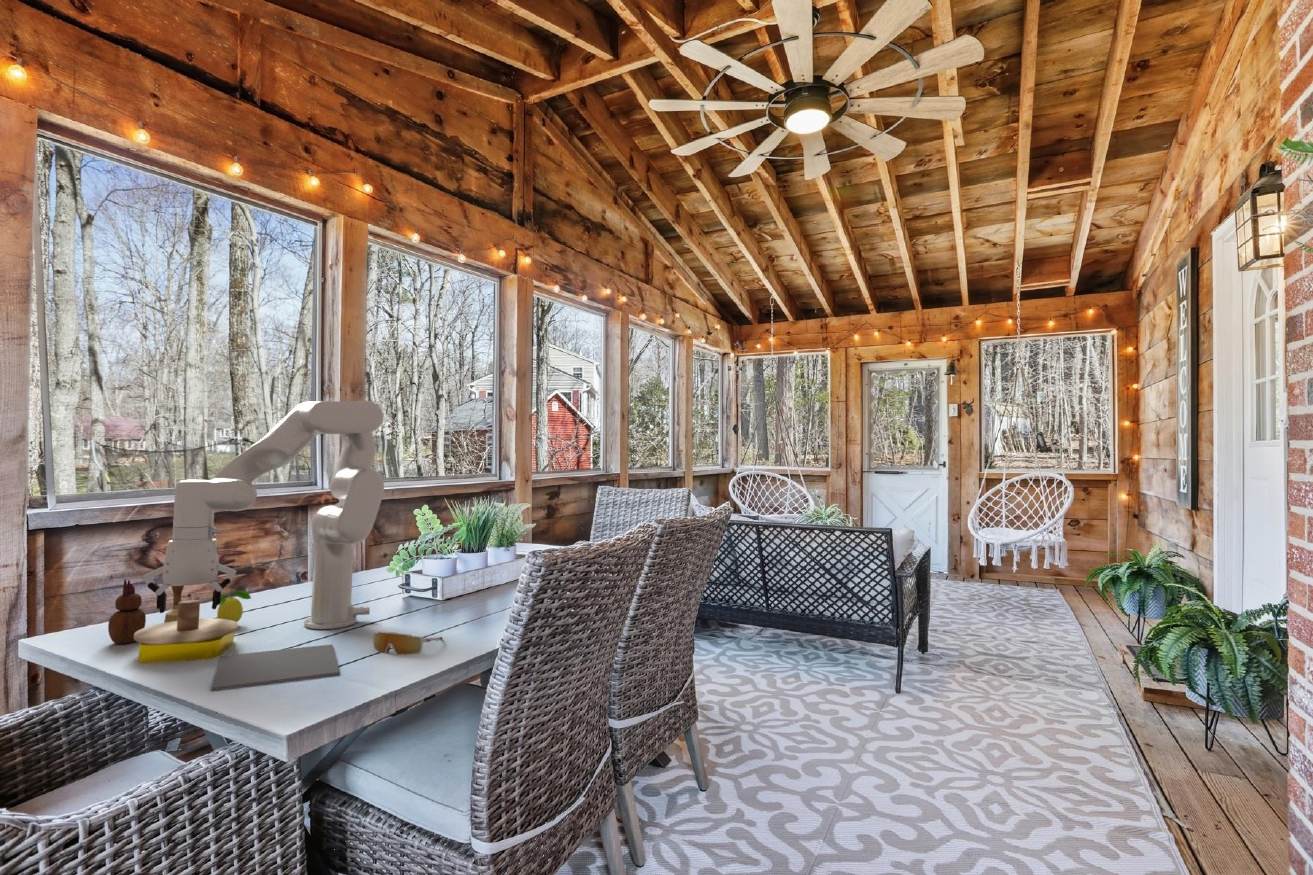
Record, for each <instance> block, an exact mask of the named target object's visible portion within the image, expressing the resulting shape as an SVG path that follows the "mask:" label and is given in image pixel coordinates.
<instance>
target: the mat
mask: <svg viewBox="0 0 1313 875" xmlns="http://www.w3.org/2000/svg"><path fill="white" fill-rule="evenodd" d="M339 668H340V667H339V665H338V660H337V657H336V652H335V649H334V645H333V644H331V643H330V644H324V645H323V644H322V645H315V646H305V647H295V648H284V649H275V650H266V651H265V650H263V651H255V652H245V653H235V654H225V655H220V656H219V661H218V664H217V668H216V671H215V675H214V677H213V681H212V684H211V686H210V688H211V690H210V692H212V691H221V690H228V689H237V688H246V687H253V686H261V685H270V684H277V683H278V684H279V683H286V682H292V681H301V680H308V679H310V680H311V679H317V678H323V677H324V678H325V677H333V676H334V677H335V676H340V674H341V673H340V669H339Z"/></svg>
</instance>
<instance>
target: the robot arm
mask: <svg viewBox="0 0 1313 875" xmlns="http://www.w3.org/2000/svg"><path fill="white" fill-rule="evenodd" d="M383 421H384V413H383V409H382V408H381V407H380V406H379V405H378V404H377V403H376V402H373V401H370V400H353V401H352V400H351V401H350V400H349V401H345V400H344V401H342V400H341V401H338V400H337V401H334V400H333V401H331V400H316V401H315V400H314V401H304V402H302V403H299V404H297V405H296V406H295V407H294V408H293V409H292V410H291V411H290V412H288V413H287V415H285V416H284V417H283V418H282V419H281V420H280V421H279V422H278V423H277V424H276V425H275V426H274V427H272V429H271V430H269V432H268V433H266V435H264V436H263V437H262V438H261V439H259V441H258V442H255V443H254V444H252V445H251V446H250V447H248V448H247V449H245V450H244V451H243V452H241V453H239V454H238V455H236V456H235V457H234V458H232V459H231V460H230V461H228V463H227V464H225V465H224V466H223V467H222V468H221V469H220V470H219V471H217V473H216V474H215V475H213V477H211V479H209V480H208V479H185V480H182V479H181V480H179V481H178V482H177V483H176V484H175V488H174V503H173V504H174V506H173V521H172V523H173V524H172V538H171V540H168V542H167V546H166V550H165V555H164V560H163V565H162V566H160V567H158V568H156V569H154V570H151V571H149V572H147V573H145V574H143V575H142V580H143V581H144V582H145V584H146V586H147V588H148V589H149V590H151V591H152V592H153V593H155V595H156V610H159V614H163V613H165V611H166V609H167V607H166V606H167V593H166V590H167V589H168V588H169V587H172V586H181V585H184V586H193V585H194V586H196V585H208V584H209V585H210V586H211V587H212V588H213V589H214V590H213V592H212V604H211V609H212V610H217V607H218V606H219V605H220V602H221V596H222V590H223V589H225V588H226V587H227V586H228V585H229V584H230V583H231V581H232V580H233V578H234V577H235V575H236V573H237V570H236V569H234V568H231V567H228V566H226V565H224V564H221V563H220V562H219V555H220V554H219V544H218V540H217V539H218V538H214V536H217V535H221V533H222V532H221V531H222V530H221V528H217V527H215V526H214V521H215V520H214V519H215V511H228V512H229V511H231V512H239V511H244V510H247V509H249V508H251V507H252V506H253V505H254V503H255V502H256V500H257V497H258V491H257V489H256V487H255V486H254V485H253V484H252V483H253V482H254V481H256V480H257V479H259V478H260V477H261V476H263V475H265V474H266V473H269V472H271V471H273V470H276V469H279V468H281V467H284V466H286V465H287V464H290V463H291V462H292V461H293V460H294V459H295V458H296V457H297V456H298V455H299V454H300V453H301V452H302V451H303V450H304V449H305V448H306V447H307V446H308V444H310V443H311V442H312V440H314V439H315V438H316V437H317V436H318V435H339V436H340V438H341V444H342V445H341V451H340V454H339V458H338V460H337V463H336V467H335V468H334V472H333V476H332V478H331V480H330V484H329V490H330V493H331V495H332V496H333V497H334V498H335V499H337V500H339V501H343V502H344V503H343V505H341V504H340V505H339V504H330V505H326V506H324V507H322V508H320V509H319V510H318V511H317V512H316V514H314V516H313V518H312V523H311V534H312V541H313V566H312V567H313V568H312V569H313V571H312V588H311V589H312V592H311V612H310V617H309V618H308V617H307V618H306V619H305V620H304V621H303V626H304V627H305V628H307V629H311V630H313V629H314V630H331V629H341V628H346V627H350V626H352V625H354V624H356V623H357V620H358V619H357V618H358V617H357V616H359V615H360V616H361V615H362V616H364V615H365V616H367V615H368V616H369V615H370V610H371V609H370V607H369V606H367V607H366V606H365V607H364V606H359V607H358V606H357V607H356V606H353V603H352V595H353V594H352V592H353V591H352V590H353V588H352V587H353V569H354V550H353V545H354V544H359V543H362V542H363V541H365V540H366V539H367V538H368V537H369V535H370V534H371V532H372V530H373V527H374V525H375V522H376V519H377V515H378V512H379V510H380V506H381V503H382V500H383V496H384V492H385V484H384V483H385V482H384V479H383V477H382V475H381V474H380V473H379V471H377V470H375V469H373V468H372V466H373V462H374V458H375V457H376V456H375V455H376V441H375V439H374V438H375V437H374V435H373V434H372V432H375V431H376V430H378V429H379V428H380V427H381V426H382V424H383ZM219 572H222V573H224V574H226V575H227V576H226V577H225V579H223V580H222V581H221V582H220V581H219V580H218V578H219V577H218V576H219ZM161 574H162V584H161V585H159V584H158V583H156V582H155V581H154V577H156V576H158V575H159V576H160V575H161ZM217 605H218V606H217Z"/></svg>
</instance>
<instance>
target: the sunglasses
mask: <svg viewBox="0 0 1313 875" xmlns="http://www.w3.org/2000/svg"><path fill="white" fill-rule="evenodd" d="M372 638H373V643H372V644H373V647H374V649H375V651H377V652H379V653H384V654H387V653H388V652H390V648H392V650H393V651H394V653H395V654H396V655H411V654H420V653H421V652H422V649H423V645H424V643H430V642H432V641H437V642H438V641H441V642H442V641H443V637H442V636H439V637H422V636H416V635H412V634H410V633H409V634H408V633H407V634H406V633H398V632H394V631H392V632H391V631H390V632H387V631H377V632H374V633H373V636H372Z"/></svg>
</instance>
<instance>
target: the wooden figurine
mask: <svg viewBox="0 0 1313 875" xmlns="http://www.w3.org/2000/svg"><path fill="white" fill-rule="evenodd" d="M142 600H143V598H142V596H141V594H139V593H136V589H135V586H134V585H133V583H131V580H130V579H128V581H127V579H126V578H125V579H123V587H122V594H120V595H119V596H118V597H117V598H116V599H115V602H114V603H115V604H114V605H115V609H116V610H117V611H115V612H114V613H113V614H112V615H111V616H110V618H109V620H108V625H107V626H108V628H107V629H108V630H107V632H108V636H109V637H110V640H111V641H112V642H113V643H114V644H116V645H117V644H118V645H126V644H132V643H135V642H136V641H135V640H134V633H135V632H137V631H138V630H140V629H143V628H146V621H147V620H146V619H147V617H146V613H145V611H144V610H143V609H142V608H141V606H142V602H143V601H142Z"/></svg>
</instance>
